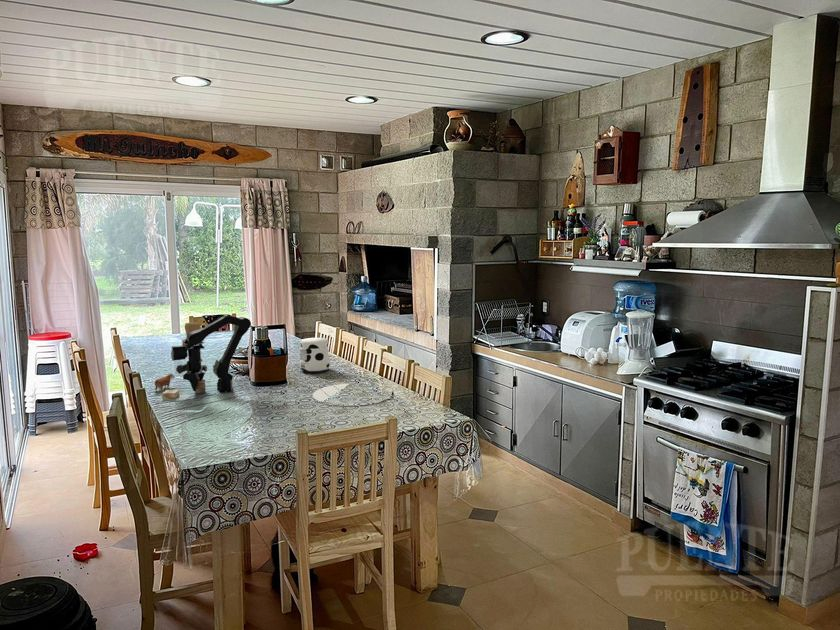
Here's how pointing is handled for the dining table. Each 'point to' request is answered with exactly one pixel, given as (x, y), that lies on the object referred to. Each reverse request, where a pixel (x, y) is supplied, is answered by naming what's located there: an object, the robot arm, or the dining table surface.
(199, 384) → the walnut cube
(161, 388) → the bull figurine
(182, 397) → the mat
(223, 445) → the dining table surface
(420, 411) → the dining table surface
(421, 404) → the dining table surface
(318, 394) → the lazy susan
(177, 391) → the oak base block
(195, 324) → the stone cup
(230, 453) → the dining table surface
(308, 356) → the milk container
